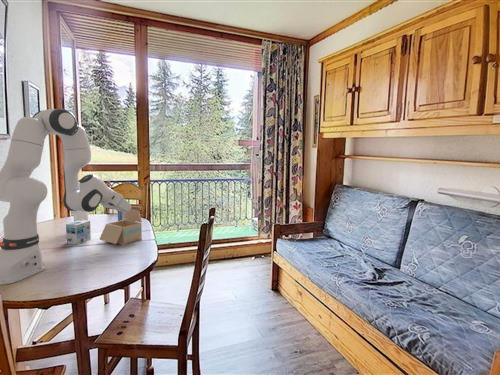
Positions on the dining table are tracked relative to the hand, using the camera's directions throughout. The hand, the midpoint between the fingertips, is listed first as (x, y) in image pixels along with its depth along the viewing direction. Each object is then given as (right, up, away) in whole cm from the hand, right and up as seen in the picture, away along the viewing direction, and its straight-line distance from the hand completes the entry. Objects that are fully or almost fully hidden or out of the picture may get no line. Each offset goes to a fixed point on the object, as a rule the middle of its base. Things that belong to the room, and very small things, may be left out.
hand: (123, 212), depth 170 cm
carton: (-2, -16, 0) cm, 16 cm away
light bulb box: (-23, -16, -3) cm, 28 cm away
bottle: (-32, -13, +15) cm, 37 cm away
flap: (+3, -1, +5) cm, 6 cm away
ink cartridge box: (-10, -12, +29) cm, 32 cm away
